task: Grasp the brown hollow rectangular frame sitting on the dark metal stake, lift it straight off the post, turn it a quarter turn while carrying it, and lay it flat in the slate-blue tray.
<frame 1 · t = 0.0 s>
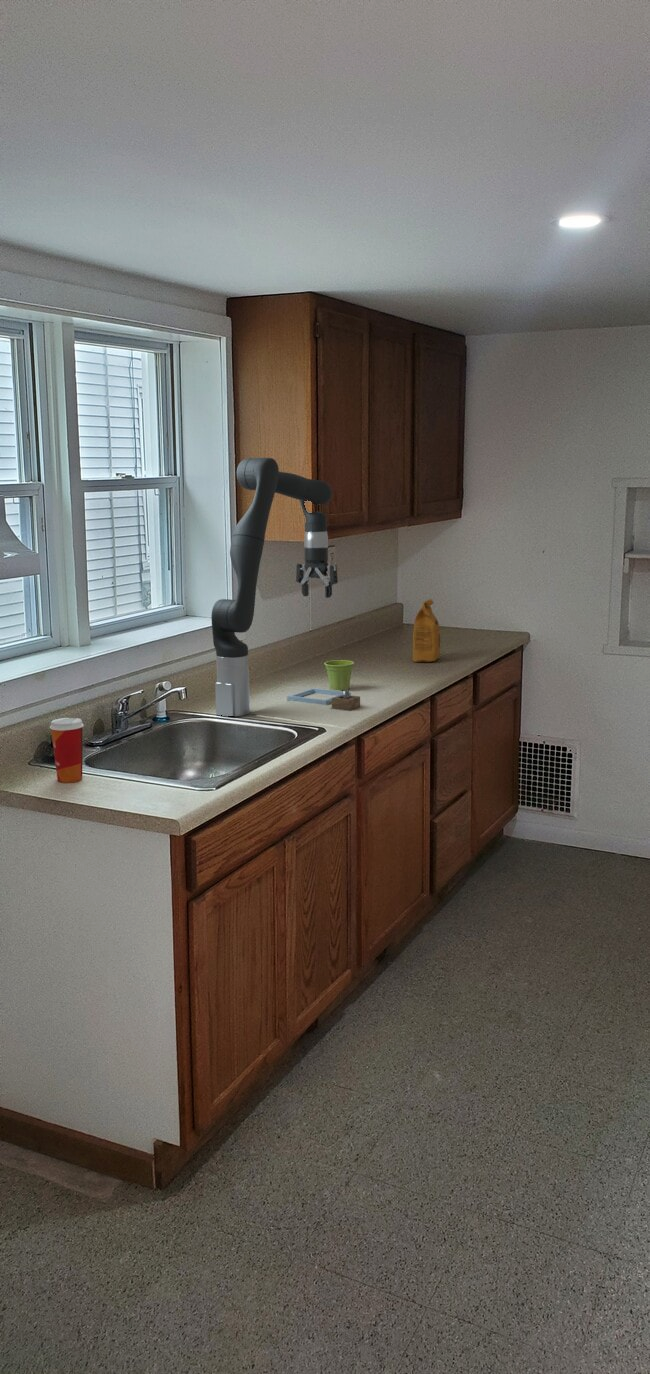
hand: (316, 596, 352), 29 cm above the worktop, tool pointing down, fingers open, 8 cm apart
paper cup: (69, 780, 255), on the worktop
plant pot: (339, 689, 354), on the worktop
stake: (346, 710, 323), on the worktop
coffee package: (426, 661, 403), on the worktop
tray: (319, 700, 337), on the worktop
brown hollow rectangular frame: (346, 707, 323), point 1 cm above the worktop, touching stake
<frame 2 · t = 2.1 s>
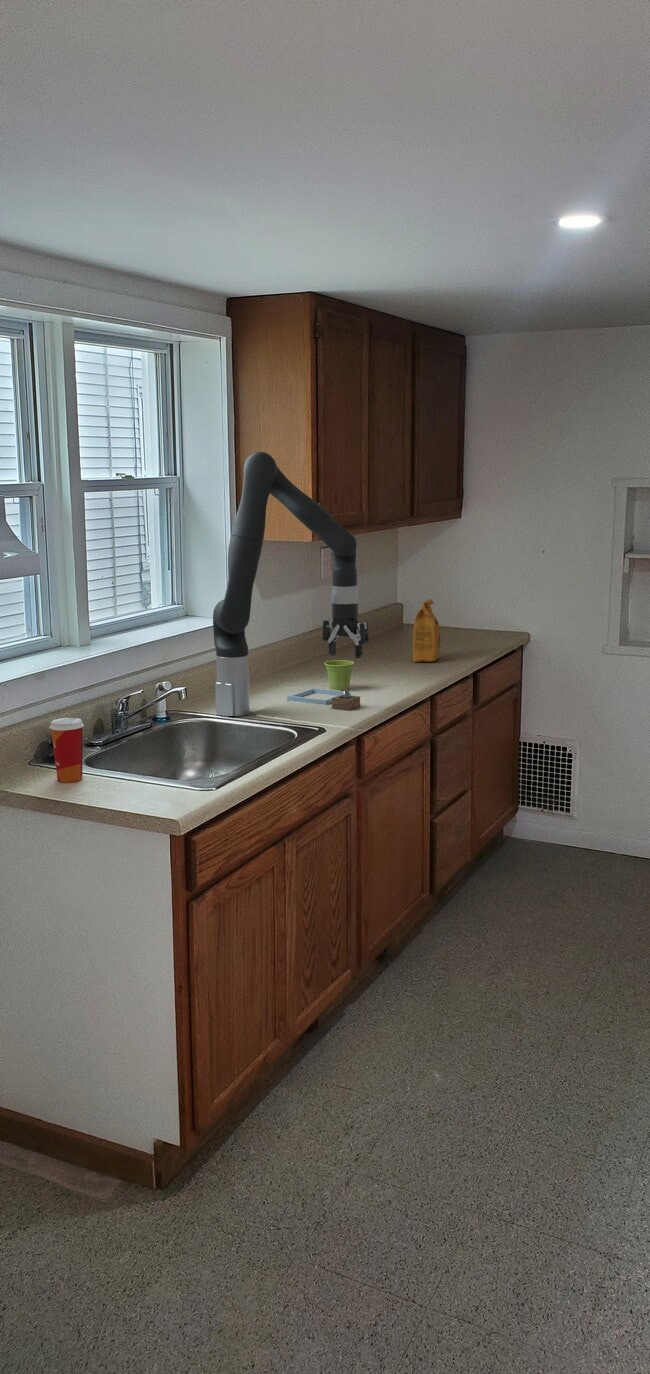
hand: (345, 656, 320), 16 cm above the worktop, tool pointing down, fingers open, 8 cm apart
nothing on the worktop moved.
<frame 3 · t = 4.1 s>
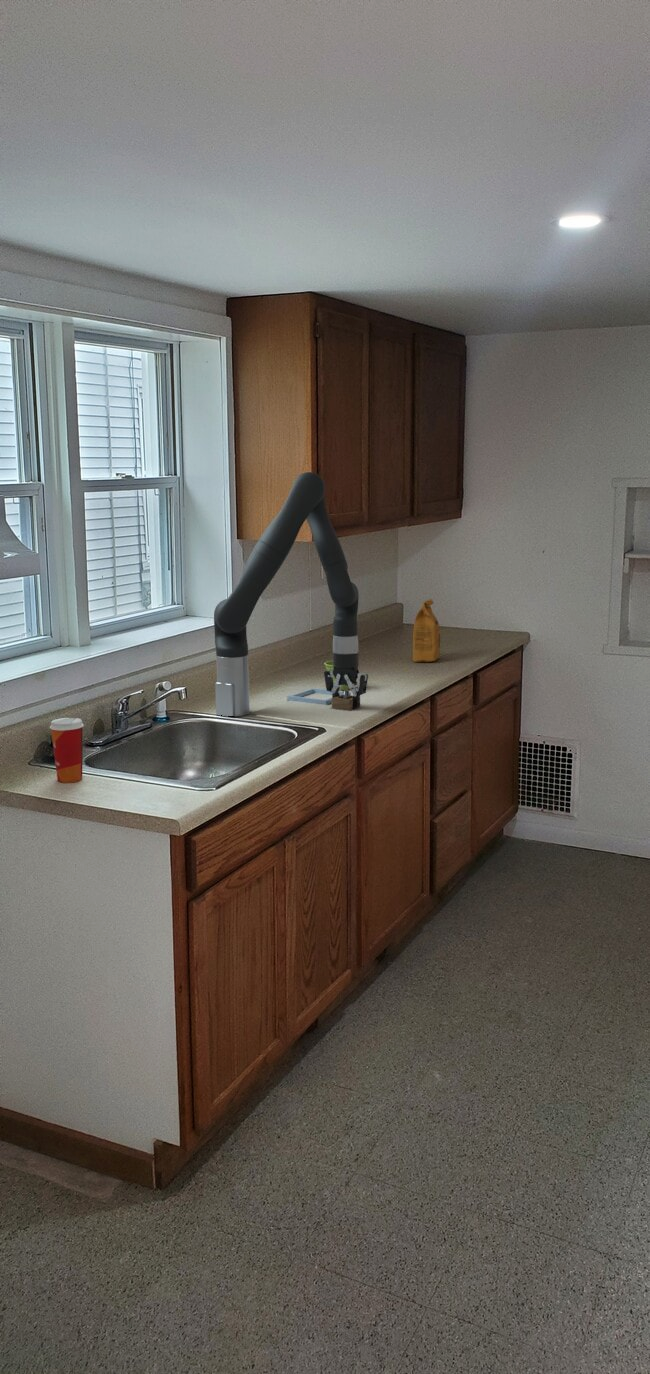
hand: (346, 706, 323), 1 cm above the worktop, tool pointing down, fingers closed on brown hollow rectangular frame, 6 cm apart
brown hollow rectangular frame: (346, 707, 323), point 1 cm above the worktop, touching gripper, stake
everything else where it was.
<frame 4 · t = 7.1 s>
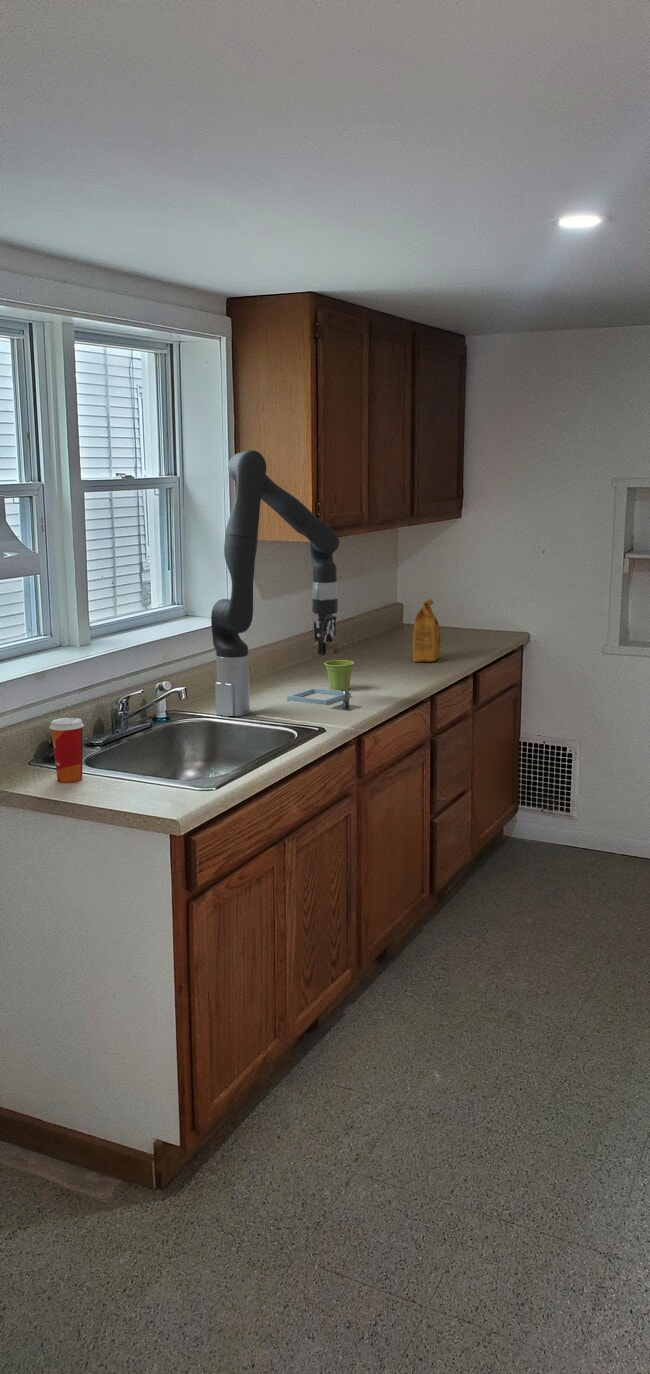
hand: (325, 652, 330), 15 cm above the worktop, tool pointing down, fingers closed on brown hollow rectangular frame, 6 cm apart
brown hollow rectangular frame: (325, 653, 330), point 15 cm above the worktop, touching gripper
everything else where it was.
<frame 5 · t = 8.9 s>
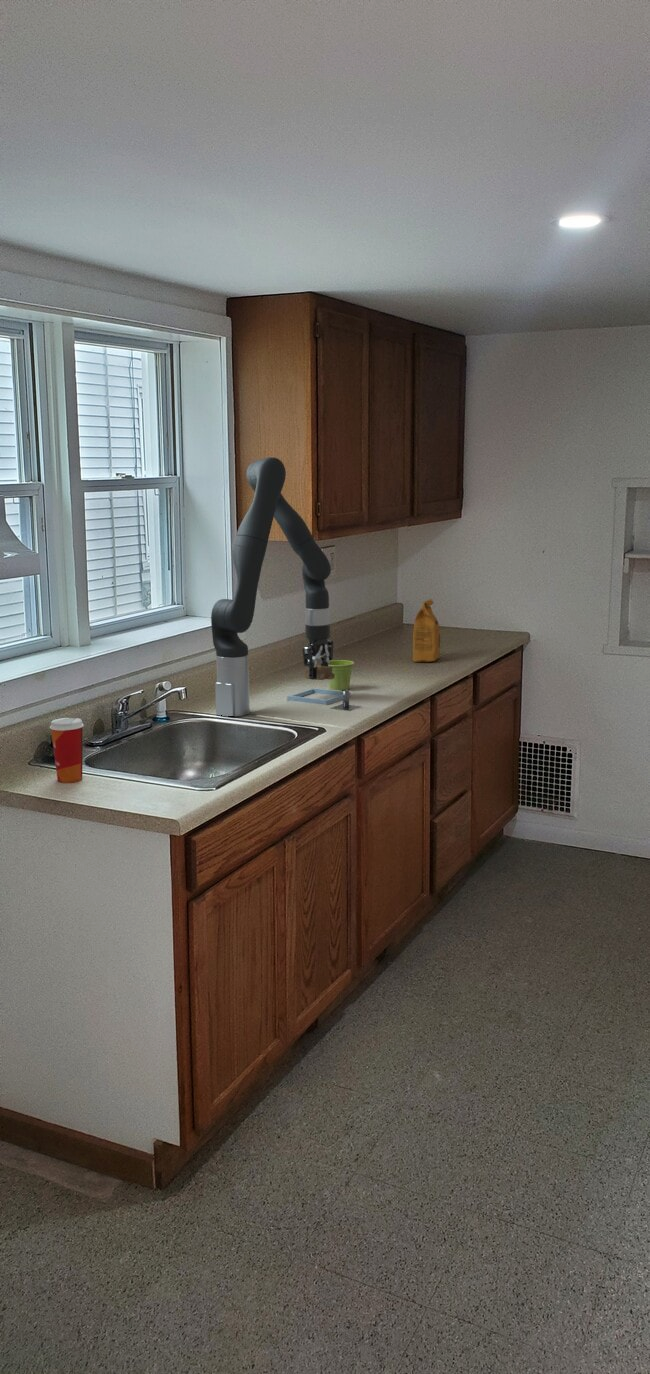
hand: (318, 677, 335), 7 cm above the worktop, tool pointing down, fingers closed on brown hollow rectangular frame, 6 cm apart
brown hollow rectangular frame: (318, 677, 335), point 7 cm above the worktop, touching gripper
everything else where it was.
when the fingers open (2 cm above the worktop, at t = 10.4 s): brown hollow rectangular frame drops 2 cm, resting on tray.
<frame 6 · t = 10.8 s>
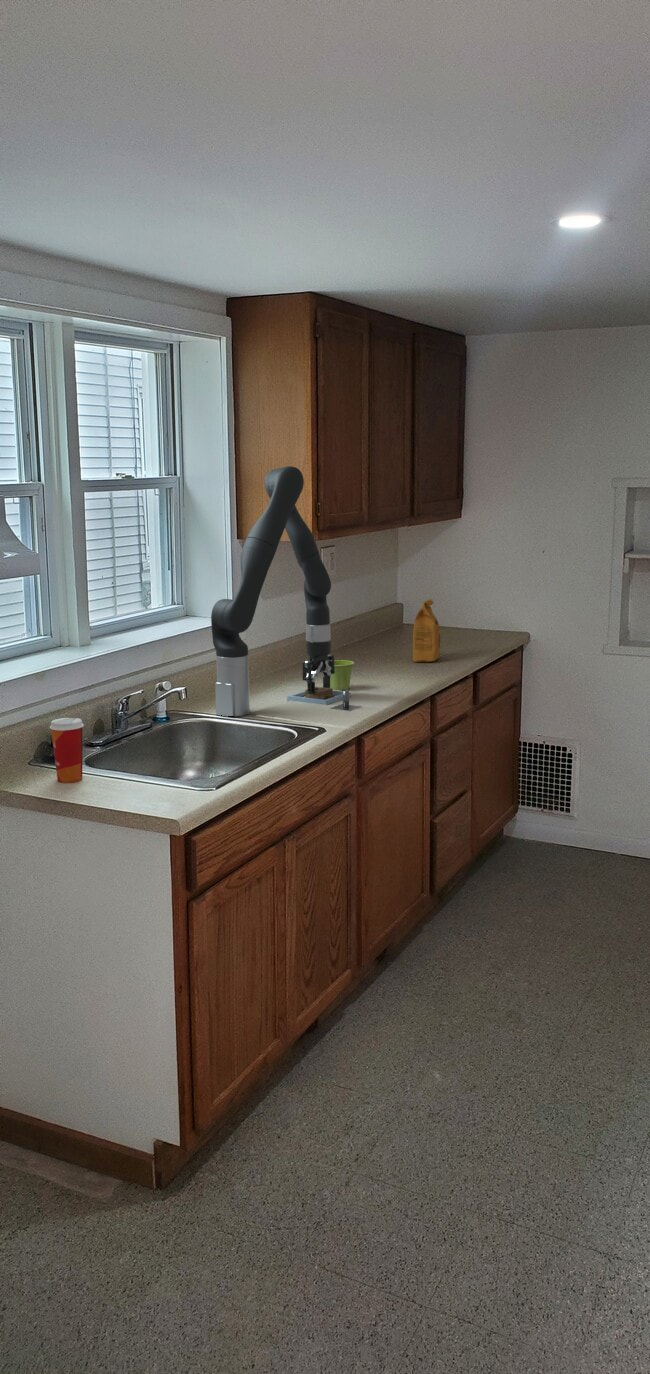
hand: (319, 691, 336), 3 cm above the worktop, tool pointing down, fingers open, 8 cm apart
brown hollow rectangular frame: (319, 698, 336), point 1 cm above the worktop, touching tray
everything else where it was.
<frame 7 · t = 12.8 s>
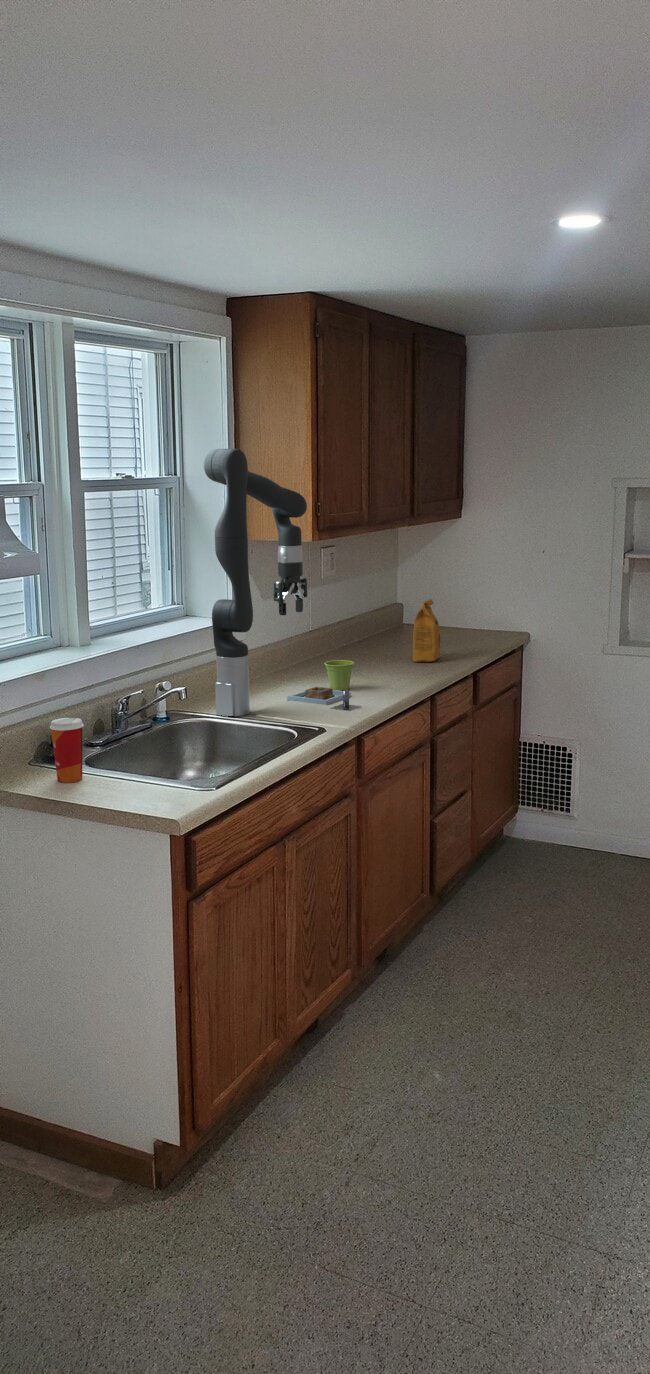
hand: (291, 613, 338), 26 cm above the worktop, tool pointing down, fingers open, 8 cm apart
nothing on the worktop moved.
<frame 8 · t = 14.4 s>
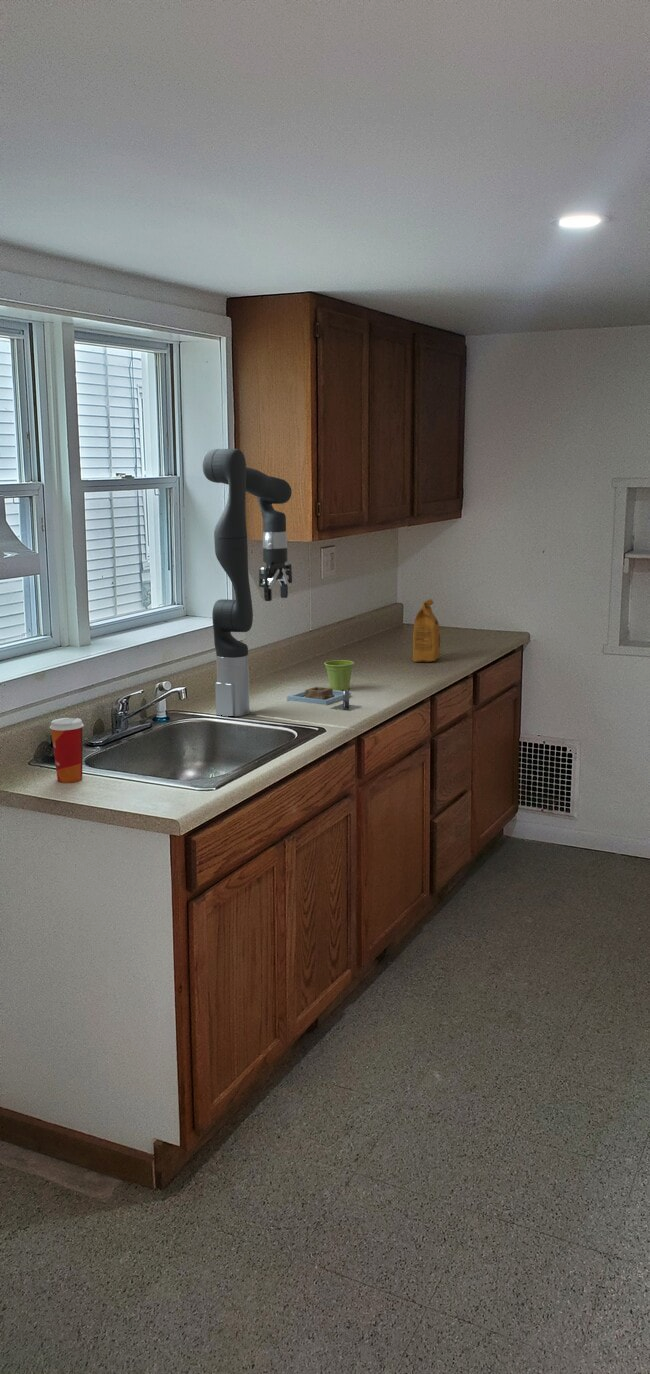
hand: (276, 599, 340), 30 cm above the worktop, tool pointing down, fingers open, 8 cm apart
nothing on the worktop moved.
at the end: brown hollow rectangular frame inside the target area on the tray (0.0 cm from its centre), point 0.6 cm above the tray's base; brown hollow rectangular frame tilted 0°; the gripper is holding nothing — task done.
